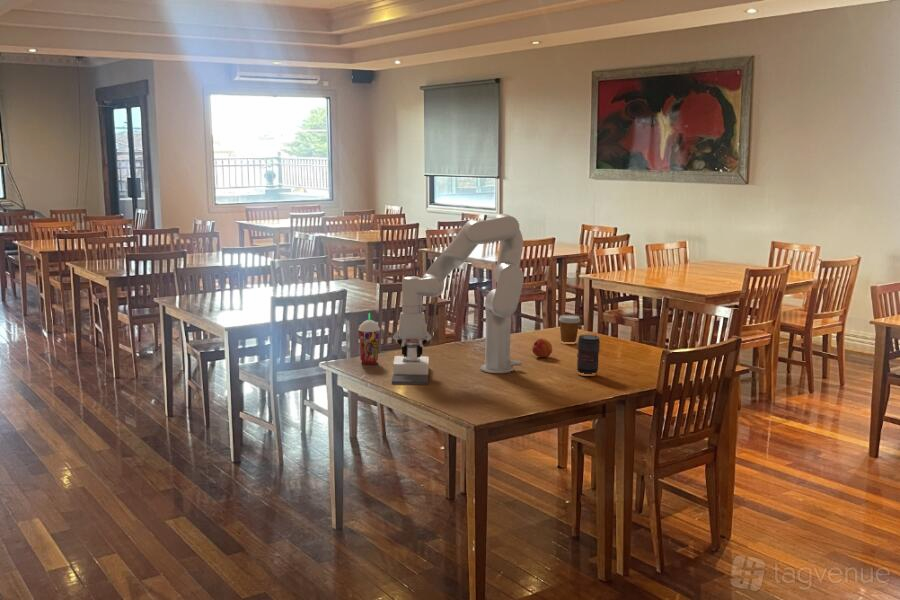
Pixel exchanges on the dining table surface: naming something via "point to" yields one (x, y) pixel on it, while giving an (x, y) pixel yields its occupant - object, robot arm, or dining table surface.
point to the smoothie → (369, 341)
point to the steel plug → (412, 352)
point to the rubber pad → (409, 379)
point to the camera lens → (588, 354)
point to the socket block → (411, 366)
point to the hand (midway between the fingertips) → (412, 356)
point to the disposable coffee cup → (569, 327)
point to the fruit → (542, 348)
